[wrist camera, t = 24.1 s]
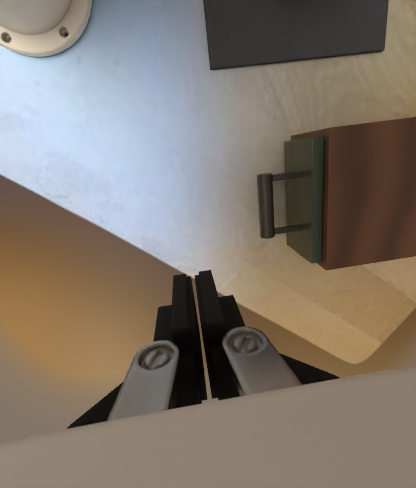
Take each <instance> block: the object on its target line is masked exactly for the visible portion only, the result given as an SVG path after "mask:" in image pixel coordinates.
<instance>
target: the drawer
mask: <svg viewBox="0 0 416 488" xmlns="http://www.w3.org/2000/svg"><path fill="white" fill-rule="evenodd" d="M324 155H325V144H324V136H319V137H311V138H305V139H299V140H293V141H287V142H285V172H286V173H283V174H276V175H272V173H267V174H259V175H257V186H258V203H259V220H260V236H261V238H273V237H274V236H275V234H281V233H287V245H289V246H290V247H291V248H292V249H294V250H295V251H296V252H297V253H299V254H300V255H301V256H303V257H304V258H305V259H306V260H308V261H309V262H310V263H318V262H321V261H322V246H323V202H324ZM284 179H286V213H287V226H285V227H278V228H274V207H273V183H272V181H277V180H284Z"/></svg>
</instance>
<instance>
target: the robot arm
mask: <svg viewBox="0 0 416 488" xmlns="http://www.w3.org/2000/svg"><path fill="white" fill-rule="evenodd" d="M92 1H93V0H0V45H2V46H4V47H5V48H7V49H9V50H11V51H13V52H16V53H20V54H23V55H26V56H34V57H43V56H51V55H54V54H57V53H60V52H62V51H64V50H66V49H67V48H69V47H70V46H72V45H73V44H74V43H75V42H76V40H77V39H78V38H79V37H80V36H81V34H82V32H83V31H84V29H85V28H86V25H87V23H88V20H89V17H90V14H91V7H92ZM67 33H68V34H69V35H68V36H67V37H65V35H66V34H67ZM10 39H11V41H10ZM195 283H196V289H197V298H198V306H199V314H200V322H201V329H202V336H203V342H204V349H205V355H206V362H207V368H208V374H209V381H210V388H211V394H212V398H218V399H219V400H218V401H213V402H208V403H202V400H207V393H206V384H205V375H204V367H203V358H202V349H201V341H200V332H199V325H198V319H197V313H196V306H195V300H194V293H193V287H192V281H191V276H189V277H186V274H181V275H175V276H173V294H172V305H168V306H162V307H159V308H158V313H157V321H156V327H155V334H154V341H153V342H152V343H149V344H147V345H145V346H144V347H142V348H141V349H140V350H139V351H138V352H137V353H136V355H135V356H134V358H133V361H132V363H131V365H130V368H129V370H128V372H127V375H126V377H125V379H124V382H122V383H121V384H120V385H119V386H118V387H116V388H115V389H114V390H113V391H111V392H110V393H109V394H108V395H107V396H105V397H104V398H103V399H102V400H100V401H99V402H98V403H97V404H95V405H94V406H93V407H92V408H91V409H90V410H88V411H87V412H86V413H84V414H83V415H82V416H81V417H80V418H78V419H77V420H76V421H75V422H73V423H72V424H71V425H70V426H69V427H68V428H67V429H64V430H58V431H53V432H48V433H42V434H38V435H32V436H27V437H22V438H18V439H13V440H9V441H5V442H0V488H416V367H409V368H402V369H395V370H388V371H381V372H374V373H367V374H361V375H356V376H351V377H345V378H339V377H337V376H335V375H333V374H330V373H328V372H325V371H323V370H320V369H318V368H315V367H313V366H310V365H308V364H305V363H303V362H300V361H298V360H295V359H293V358H290V357H288V356H285V355H283V354H280V353H278V351H277V350H276V348H275V347H274V346H273V344H272V343H271V342H270V341H269V339H268V338H267V336H266V335H265V334H264V333H263V332H262V331H260V330H258V329H256V328H252V327H245V324H244V321H243V319H242V316H241V314H240V311H239V309H238V306H237V304H236V301H235V298H234V296H233V295H230V296H223V297H218V294H217V291H216V287H215V283H214V280H213V276H212V273H211V270H207V271H201V272H199V275H195Z"/></svg>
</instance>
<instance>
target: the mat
mask: <svg viewBox="0 0 416 488" xmlns="http://www.w3.org/2000/svg"><path fill="white" fill-rule="evenodd" d="M203 1H204V11H205V21H206V31H207V40H208V50H209V60H210V69H211V70H216V69H225V68H234V67H243V66H253V65H262V64H271V63H280V62H290V61H299V60H308V59H317V58H327V57H336V56H345V55H354V54H364V53H373V52H381V51H383V50H384V48H385V36H386V24H387V12H388V0H203Z"/></svg>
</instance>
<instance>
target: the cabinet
mask: <svg viewBox="0 0 416 488" xmlns="http://www.w3.org/2000/svg"><path fill="white" fill-rule="evenodd" d="M319 136H324V144H325V155H324V202H323V246H322V261H321V262H318V263H317V264H319V265H320V266H321V267H323V268H324V269H325V270H331V269H337V268H344V267H350V266H356V265H363V264H369V263H375V262H381V261H388V260H394V259H400V258H407V257H413V256H416V117H413V118H405V119H397V120H389V121H381V122H373V123H365V124H357V125H349V126H341V127H333V128H327V129H322V130H318V131H313V132H308V133H303V134H298V135H293V136H291V141H293V140H299V139H305V138H311V137H319Z"/></svg>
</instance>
